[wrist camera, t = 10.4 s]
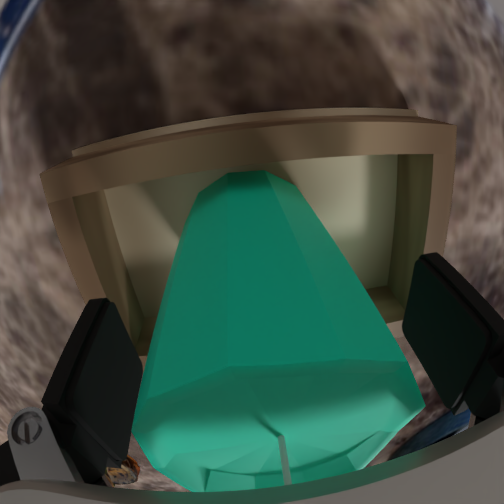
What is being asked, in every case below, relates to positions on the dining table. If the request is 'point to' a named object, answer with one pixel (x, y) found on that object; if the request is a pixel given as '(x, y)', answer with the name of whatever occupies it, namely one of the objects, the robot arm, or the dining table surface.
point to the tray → (253, 159)
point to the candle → (266, 350)
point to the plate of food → (123, 472)
